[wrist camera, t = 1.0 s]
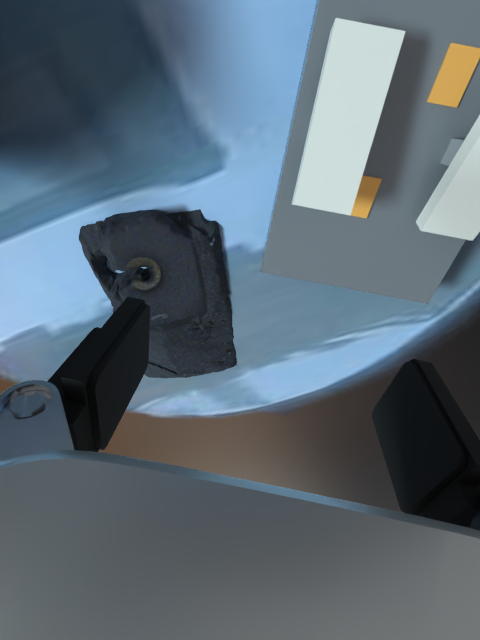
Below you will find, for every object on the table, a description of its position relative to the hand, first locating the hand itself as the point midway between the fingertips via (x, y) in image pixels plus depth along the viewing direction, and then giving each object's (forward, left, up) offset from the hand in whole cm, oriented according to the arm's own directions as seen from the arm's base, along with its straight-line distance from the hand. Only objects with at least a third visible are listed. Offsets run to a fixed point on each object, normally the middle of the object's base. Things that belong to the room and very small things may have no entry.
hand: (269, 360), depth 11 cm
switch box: (-7, +8, -22) cm, 24 cm away
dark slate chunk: (+13, -10, -23) cm, 28 cm away
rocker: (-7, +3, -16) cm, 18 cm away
